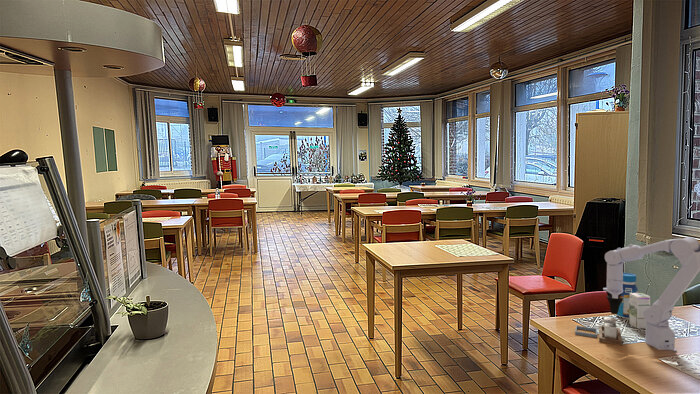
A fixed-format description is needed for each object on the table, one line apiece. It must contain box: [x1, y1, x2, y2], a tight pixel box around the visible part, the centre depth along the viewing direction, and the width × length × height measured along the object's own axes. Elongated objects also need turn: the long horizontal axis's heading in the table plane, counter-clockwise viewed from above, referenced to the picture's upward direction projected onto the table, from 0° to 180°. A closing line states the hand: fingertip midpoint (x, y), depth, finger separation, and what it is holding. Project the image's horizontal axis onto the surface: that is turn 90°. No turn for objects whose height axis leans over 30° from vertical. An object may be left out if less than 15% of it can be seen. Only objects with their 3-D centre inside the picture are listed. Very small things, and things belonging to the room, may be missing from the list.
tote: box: [574, 325, 598, 339], centre depth 178 cm, size 8×8×2 cm
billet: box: [603, 316, 617, 326], centre depth 177 cm, size 4×4×6 cm
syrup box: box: [628, 292, 651, 329], centre depth 186 cm, size 6×6×14 cm
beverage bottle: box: [615, 272, 639, 320], centre depth 199 cm, size 8×8×20 cm
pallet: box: [598, 324, 623, 346], centre depth 174 cm, size 16×8×2 cm, turn 150°
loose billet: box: [603, 323, 618, 340], centre depth 170 cm, size 4×4×6 cm
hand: (613, 311), depth 179 cm, fingers open, 7 cm apart
